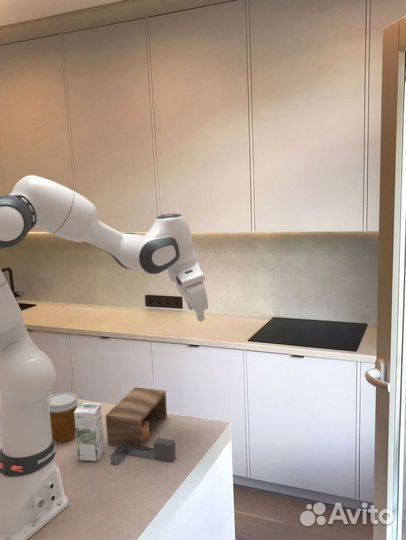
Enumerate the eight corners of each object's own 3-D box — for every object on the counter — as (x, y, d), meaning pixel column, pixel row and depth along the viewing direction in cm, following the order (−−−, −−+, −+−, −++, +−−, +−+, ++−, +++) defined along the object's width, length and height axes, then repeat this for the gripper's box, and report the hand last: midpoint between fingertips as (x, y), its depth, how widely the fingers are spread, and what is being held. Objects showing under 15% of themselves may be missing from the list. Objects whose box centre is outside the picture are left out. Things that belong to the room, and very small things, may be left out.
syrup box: (104, 450, 136) (101, 401, 133) (98, 462, 130) (94, 412, 127) (85, 449, 136) (81, 401, 134) (77, 462, 131) (73, 411, 128)
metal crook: (165, 472, 125) (164, 455, 124) (111, 463, 129) (109, 446, 128) (175, 457, 131) (174, 440, 130) (123, 449, 136) (122, 432, 135)
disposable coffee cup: (40, 442, 141) (37, 404, 139) (60, 426, 150) (57, 390, 147) (69, 447, 138) (65, 408, 135) (87, 431, 147) (84, 393, 144)
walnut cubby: (141, 449, 136) (139, 419, 134) (107, 444, 139) (105, 415, 137) (166, 417, 153) (165, 390, 152) (136, 413, 157) (134, 387, 155)
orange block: (143, 440, 140) (142, 428, 140) (130, 439, 142) (130, 426, 141) (149, 433, 144) (148, 421, 143) (136, 432, 145) (136, 419, 145)
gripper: (164, 264, 143) (176, 305, 147) (182, 284, 124) (196, 331, 128) (184, 257, 144) (196, 298, 149) (205, 276, 125) (218, 323, 130)
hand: (196, 314), depth 138 cm, fingers open, 8 cm apart
